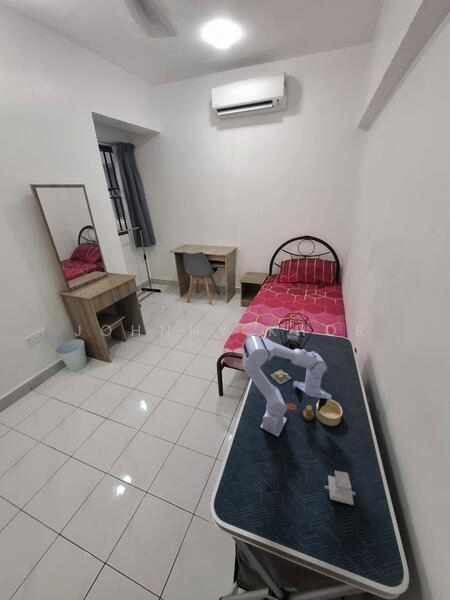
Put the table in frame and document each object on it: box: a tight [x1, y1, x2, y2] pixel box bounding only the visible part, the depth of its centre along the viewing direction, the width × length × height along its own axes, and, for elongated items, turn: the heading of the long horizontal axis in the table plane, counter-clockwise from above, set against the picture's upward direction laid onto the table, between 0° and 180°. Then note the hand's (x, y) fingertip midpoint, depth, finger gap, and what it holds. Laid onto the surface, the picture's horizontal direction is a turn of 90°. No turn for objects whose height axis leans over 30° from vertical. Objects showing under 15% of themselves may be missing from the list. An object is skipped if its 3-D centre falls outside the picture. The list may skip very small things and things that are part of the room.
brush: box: [302, 404, 315, 422], centre depth 101 cm, size 4×4×6 cm
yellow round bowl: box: [315, 399, 343, 427], centre depth 101 cm, size 10×10×4 cm
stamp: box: [324, 470, 357, 506], centre depth 75 cm, size 9×7×8 cm
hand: (309, 405), depth 100 cm, fingers open, 7 cm apart
